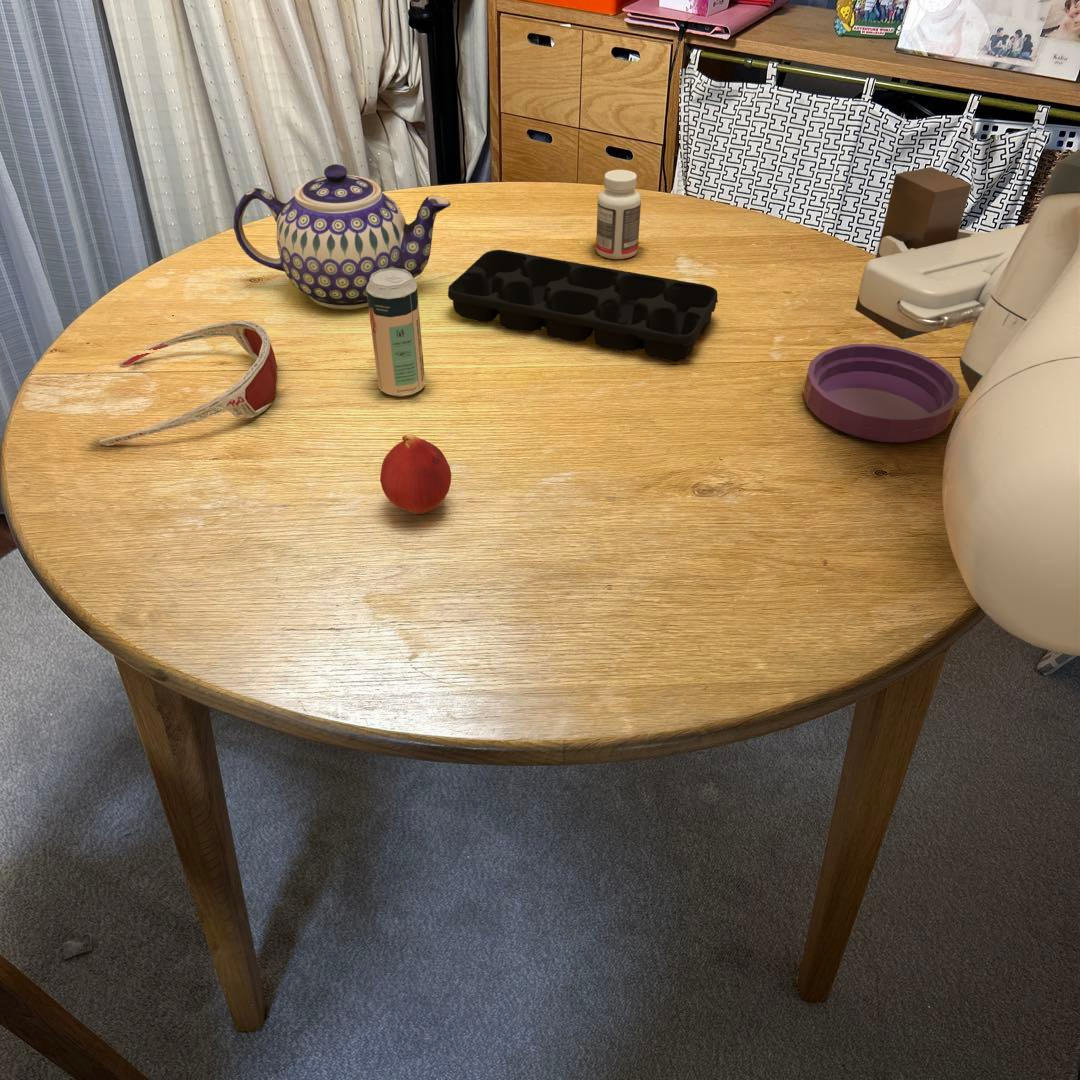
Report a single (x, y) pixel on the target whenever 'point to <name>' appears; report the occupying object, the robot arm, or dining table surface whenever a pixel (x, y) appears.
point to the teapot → (342, 236)
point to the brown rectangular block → (921, 220)
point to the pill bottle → (618, 216)
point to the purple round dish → (881, 392)
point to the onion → (415, 475)
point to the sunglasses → (247, 392)
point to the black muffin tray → (585, 303)
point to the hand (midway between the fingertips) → (910, 238)
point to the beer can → (396, 331)
